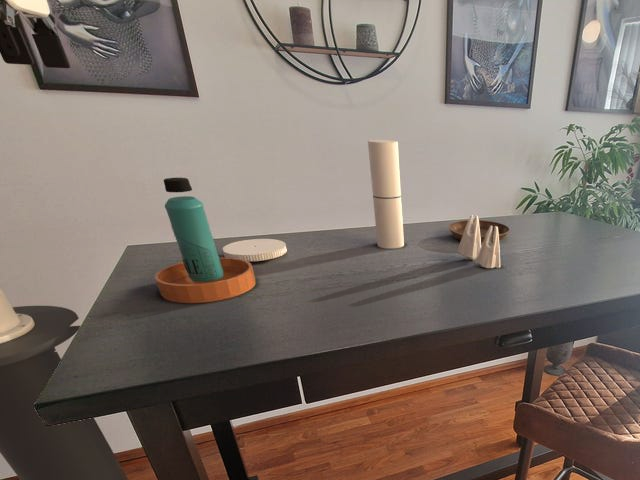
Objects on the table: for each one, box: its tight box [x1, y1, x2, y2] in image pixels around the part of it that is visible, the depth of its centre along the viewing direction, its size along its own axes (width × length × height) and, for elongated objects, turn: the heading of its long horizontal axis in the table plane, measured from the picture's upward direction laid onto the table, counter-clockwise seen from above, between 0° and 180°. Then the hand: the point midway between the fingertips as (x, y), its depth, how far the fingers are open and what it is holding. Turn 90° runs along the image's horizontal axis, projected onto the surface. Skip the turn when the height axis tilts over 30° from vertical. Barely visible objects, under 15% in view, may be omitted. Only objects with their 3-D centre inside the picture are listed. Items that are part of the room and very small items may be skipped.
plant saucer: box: [448, 219, 511, 245], centre depth 129 cm, size 18×18×3 cm
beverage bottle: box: [163, 177, 224, 282], centre depth 85 cm, size 6×7×20 cm
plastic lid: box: [221, 238, 288, 263], centre depth 108 cm, size 14×14×2 cm
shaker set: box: [457, 214, 501, 269], centre depth 107 cm, size 12×4×11 cm, turn 44°
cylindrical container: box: [367, 139, 405, 250], centre depth 114 cm, size 7×7×25 cm
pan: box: [154, 257, 257, 304], centre depth 90 cm, size 17×17×4 cm
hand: (40, 66), depth 64 cm, fingers open, 9 cm apart
